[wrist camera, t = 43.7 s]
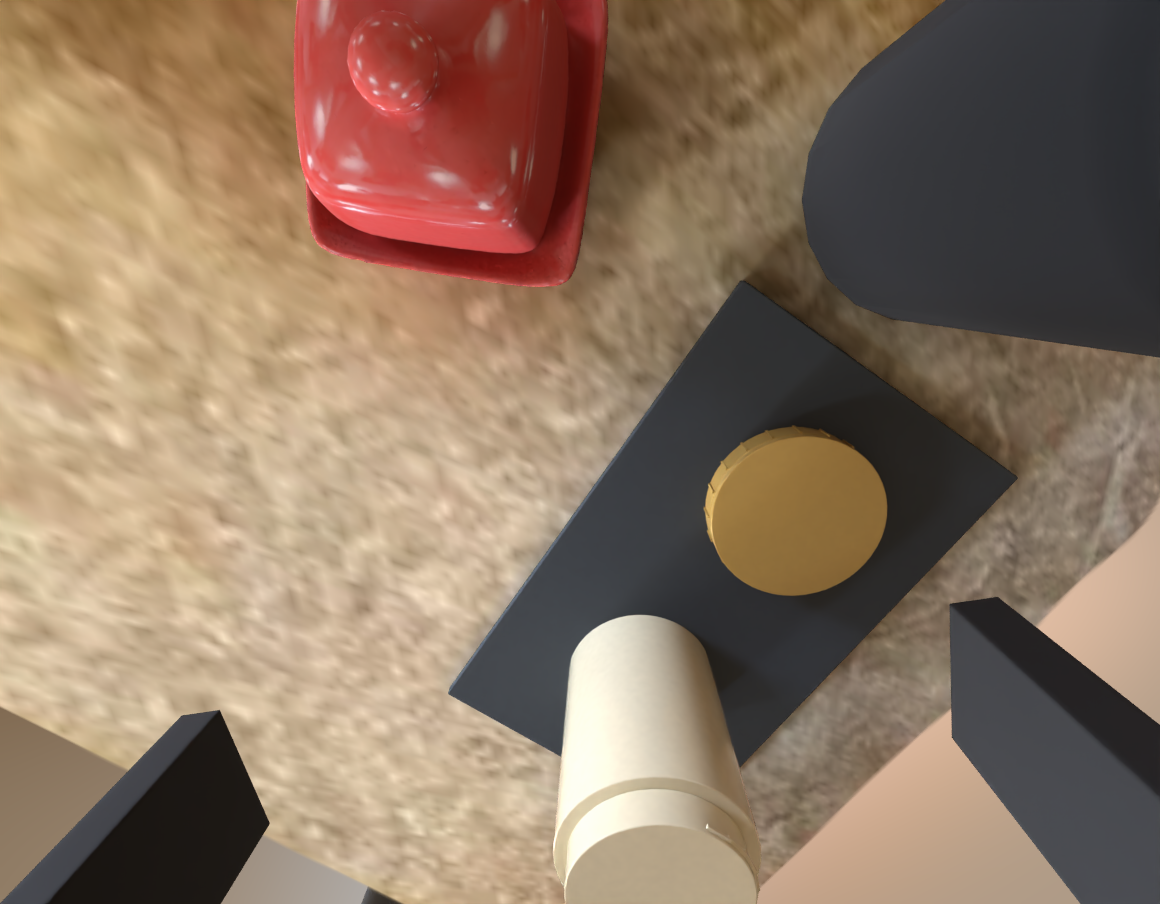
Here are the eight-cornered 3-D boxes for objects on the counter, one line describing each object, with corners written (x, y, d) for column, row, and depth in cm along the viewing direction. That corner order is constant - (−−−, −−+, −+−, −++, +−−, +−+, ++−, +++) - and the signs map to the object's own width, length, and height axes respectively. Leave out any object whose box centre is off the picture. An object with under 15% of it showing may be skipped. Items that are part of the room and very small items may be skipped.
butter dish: (618, -12, 22) (627, -182, 14) (575, 294, 25) (562, 301, 17) (323, -58, 22) (159, -256, 14) (319, 254, 25) (186, 243, 17)
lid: (866, 411, 26) (884, 420, 24) (875, 565, 28) (892, 582, 26) (693, 442, 27) (699, 452, 25) (715, 589, 29) (721, 608, 27)
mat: (683, 816, 34) (684, 825, 33) (450, 686, 32) (447, 694, 31) (1010, 473, 27) (1019, 477, 26) (740, 279, 25) (743, 279, 24)
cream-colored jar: (656, 756, 32) (684, 1003, 21) (541, 691, 31) (508, 915, 20) (740, 661, 30) (819, 881, 19) (621, 588, 29) (632, 775, 18)
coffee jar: (940, 363, 26) (1625, 538, 8) (741, 239, 24) (1066, 150, 7) (1118, 131, 23) (2708, -322, 6) (902, -23, 22) (2069, -1194, 4)
